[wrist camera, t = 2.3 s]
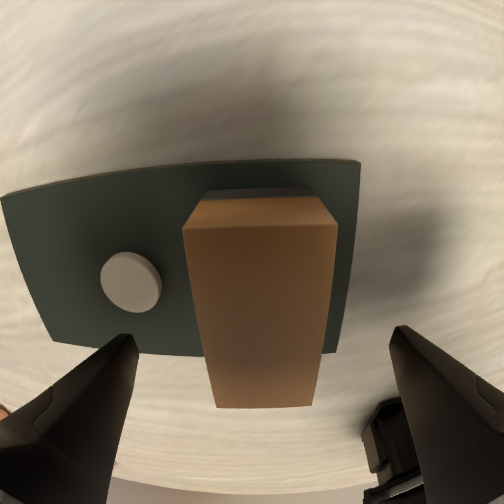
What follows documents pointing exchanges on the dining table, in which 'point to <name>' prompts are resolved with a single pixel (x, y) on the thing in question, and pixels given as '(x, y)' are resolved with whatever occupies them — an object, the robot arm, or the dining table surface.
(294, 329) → the brown rectangular block
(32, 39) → the dining table surface
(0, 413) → the egg
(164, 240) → the chalkboard
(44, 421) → the robot arm
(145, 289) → the beige disc
